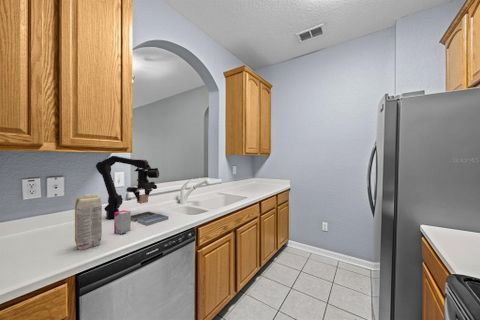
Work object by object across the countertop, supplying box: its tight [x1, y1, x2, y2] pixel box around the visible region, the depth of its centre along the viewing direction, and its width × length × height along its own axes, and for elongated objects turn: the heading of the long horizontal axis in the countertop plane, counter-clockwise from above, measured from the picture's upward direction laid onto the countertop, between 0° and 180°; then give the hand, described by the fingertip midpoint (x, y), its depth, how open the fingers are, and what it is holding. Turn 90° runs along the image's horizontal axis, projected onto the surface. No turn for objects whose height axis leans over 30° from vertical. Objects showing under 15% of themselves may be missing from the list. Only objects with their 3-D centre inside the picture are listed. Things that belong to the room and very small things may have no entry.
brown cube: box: [136, 193, 149, 204], centre depth 131 cm, size 5×5×5 cm
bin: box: [131, 211, 157, 222], centre depth 131 cm, size 15×10×2 cm
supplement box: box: [113, 210, 132, 236], centre depth 106 cm, size 6×6×12 cm
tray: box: [137, 213, 169, 227], centre depth 124 cm, size 15×10×2 cm
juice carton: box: [74, 193, 103, 251], centre depth 90 cm, size 9×8×24 cm
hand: (142, 200), depth 131 cm, fingers closed on brown cube, 5 cm apart
